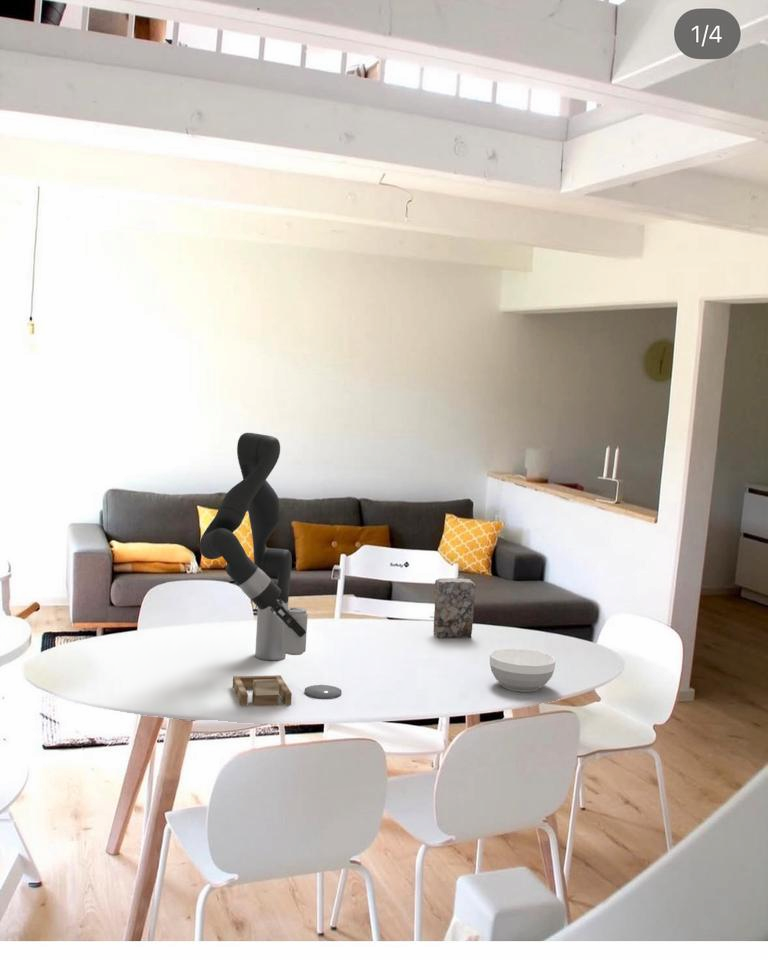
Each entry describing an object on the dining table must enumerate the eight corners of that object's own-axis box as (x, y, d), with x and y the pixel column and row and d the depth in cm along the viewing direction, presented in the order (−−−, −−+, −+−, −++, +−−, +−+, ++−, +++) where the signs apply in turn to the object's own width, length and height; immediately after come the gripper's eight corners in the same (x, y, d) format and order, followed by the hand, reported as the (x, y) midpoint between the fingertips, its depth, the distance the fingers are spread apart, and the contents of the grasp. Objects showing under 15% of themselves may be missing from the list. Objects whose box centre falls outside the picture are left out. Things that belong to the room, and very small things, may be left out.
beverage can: (293, 648, 279) (296, 605, 278) (310, 653, 275) (312, 609, 274) (276, 652, 274) (279, 608, 273) (293, 657, 270) (295, 612, 269)
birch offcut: (252, 691, 265) (253, 679, 265) (275, 690, 267) (275, 678, 267) (256, 695, 262) (256, 684, 261) (278, 694, 264) (279, 683, 263)
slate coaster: (301, 688, 280) (301, 685, 280) (336, 687, 283) (336, 684, 283) (308, 699, 270) (308, 696, 270) (345, 698, 273) (345, 695, 273)
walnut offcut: (252, 701, 266) (252, 690, 266) (274, 701, 268) (275, 690, 267) (254, 706, 262) (254, 695, 262) (277, 706, 264) (278, 694, 263)
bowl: (517, 674, 308) (519, 645, 307) (567, 690, 294) (569, 660, 293) (474, 683, 295) (476, 653, 294) (524, 700, 281) (526, 669, 280)
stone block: (438, 639, 346) (441, 581, 345) (430, 634, 353) (434, 577, 351) (473, 638, 351) (477, 581, 349) (465, 634, 357) (469, 577, 356)
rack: (232, 687, 277) (233, 676, 277) (279, 686, 281) (280, 675, 281) (241, 706, 261) (241, 694, 261) (291, 704, 265) (291, 693, 265)
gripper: (273, 583, 264) (316, 628, 268) (266, 572, 278) (306, 615, 282) (252, 603, 263) (295, 648, 267) (245, 592, 277) (286, 634, 281)
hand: (300, 631), depth 274 cm, fingers closed on beverage can, 6 cm apart
